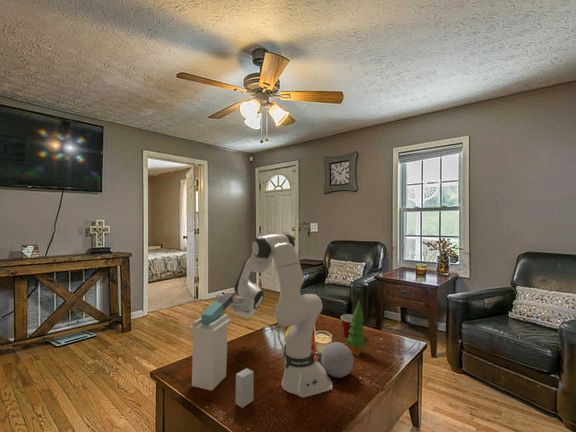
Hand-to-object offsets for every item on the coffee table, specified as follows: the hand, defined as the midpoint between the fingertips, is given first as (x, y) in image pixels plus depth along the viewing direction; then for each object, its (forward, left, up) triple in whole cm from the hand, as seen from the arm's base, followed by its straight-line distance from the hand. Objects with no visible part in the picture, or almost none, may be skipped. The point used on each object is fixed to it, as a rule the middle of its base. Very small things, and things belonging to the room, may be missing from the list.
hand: (228, 297), depth 146 cm
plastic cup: (-75, -22, -34) cm, 85 cm away
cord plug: (+4, +7, -5) cm, 10 cm away
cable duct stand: (+8, +13, -33) cm, 37 cm away
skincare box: (-6, +31, -34) cm, 46 cm away
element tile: (-44, -25, -34) cm, 61 cm away
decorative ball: (-50, +19, -33) cm, 63 cm away
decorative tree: (-69, -1, -34) cm, 77 cm away
